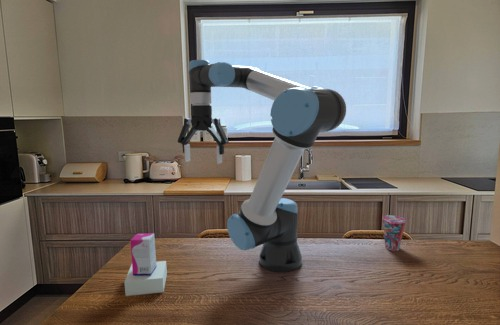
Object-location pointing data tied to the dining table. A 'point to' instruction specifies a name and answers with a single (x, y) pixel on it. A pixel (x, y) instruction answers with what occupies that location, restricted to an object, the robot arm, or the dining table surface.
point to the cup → (393, 231)
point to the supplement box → (143, 254)
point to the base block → (146, 281)
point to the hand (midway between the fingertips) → (203, 162)
